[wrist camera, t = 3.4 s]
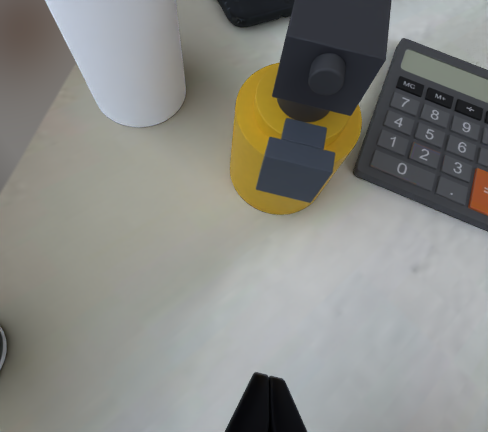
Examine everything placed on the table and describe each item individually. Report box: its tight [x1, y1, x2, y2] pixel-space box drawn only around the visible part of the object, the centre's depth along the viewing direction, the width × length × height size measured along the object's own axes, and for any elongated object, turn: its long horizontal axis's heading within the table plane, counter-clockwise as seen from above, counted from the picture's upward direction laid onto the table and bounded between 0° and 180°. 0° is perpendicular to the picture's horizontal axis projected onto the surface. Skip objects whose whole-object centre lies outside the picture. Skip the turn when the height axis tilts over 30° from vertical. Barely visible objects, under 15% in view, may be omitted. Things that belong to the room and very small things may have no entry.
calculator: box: [354, 38, 488, 231], centre depth 27 cm, size 12×1×15 cm
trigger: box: [256, 118, 335, 203], centre depth 15 cm, size 2×3×3 cm
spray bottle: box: [230, 0, 391, 215], centre depth 18 cm, size 7×7×14 cm
